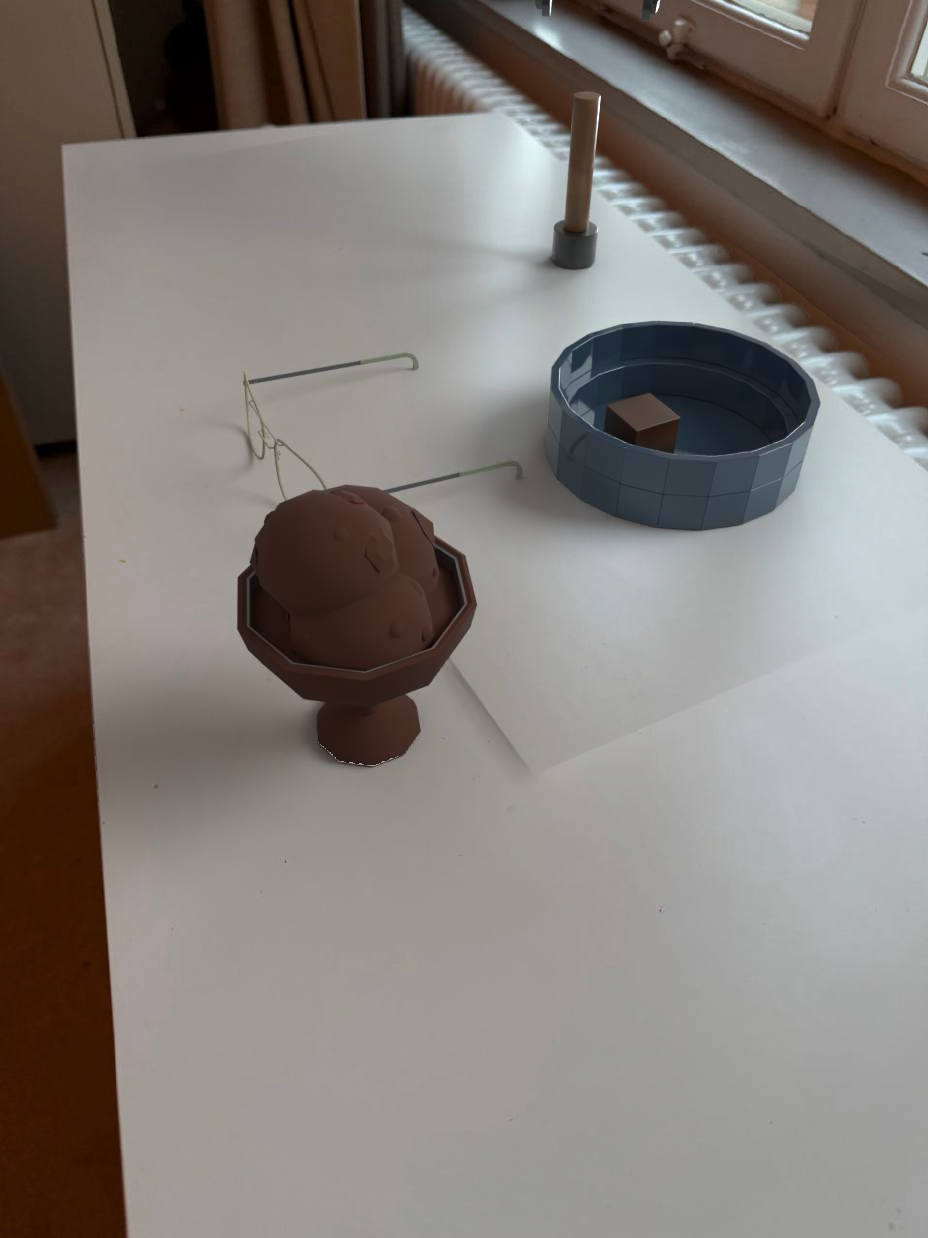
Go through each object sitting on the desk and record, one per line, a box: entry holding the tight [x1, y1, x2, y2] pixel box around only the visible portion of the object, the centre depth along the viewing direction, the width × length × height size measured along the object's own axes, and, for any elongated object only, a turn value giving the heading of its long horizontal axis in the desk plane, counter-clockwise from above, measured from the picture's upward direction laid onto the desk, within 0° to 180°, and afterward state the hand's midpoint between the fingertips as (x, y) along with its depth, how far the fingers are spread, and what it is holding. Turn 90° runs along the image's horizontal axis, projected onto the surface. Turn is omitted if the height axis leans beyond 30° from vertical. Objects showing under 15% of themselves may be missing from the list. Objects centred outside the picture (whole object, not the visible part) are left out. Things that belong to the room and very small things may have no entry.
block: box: [604, 393, 680, 454], centre depth 67 cm, size 4×4×4 cm
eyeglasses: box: [242, 351, 524, 501], centre depth 68 cm, size 16×15×5 cm
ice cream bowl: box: [236, 483, 478, 765], centre depth 47 cm, size 11×11×15 cm
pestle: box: [551, 90, 601, 270], centre depth 87 cm, size 4×4×14 cm
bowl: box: [544, 320, 822, 531], centre depth 67 cm, size 17×17×6 cm
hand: (595, 12), depth 85 cm, fingers open, 8 cm apart
